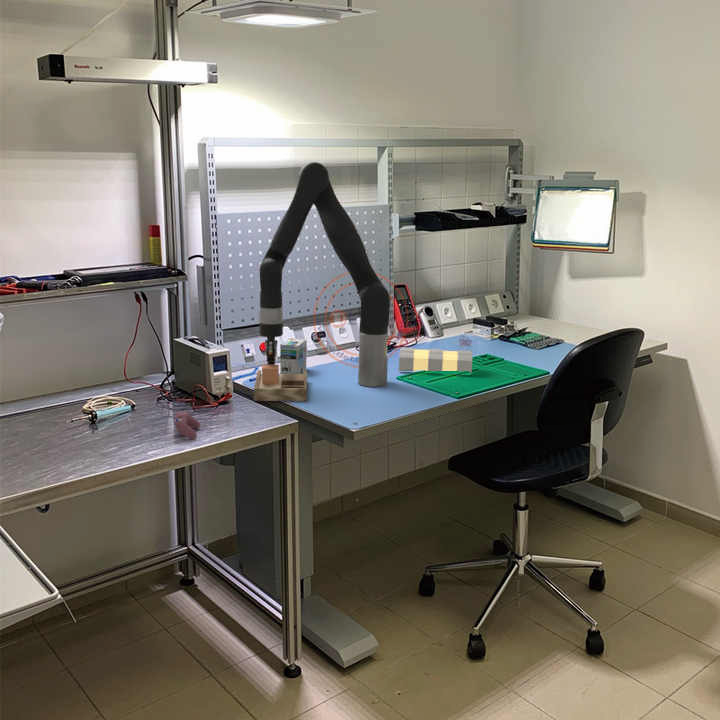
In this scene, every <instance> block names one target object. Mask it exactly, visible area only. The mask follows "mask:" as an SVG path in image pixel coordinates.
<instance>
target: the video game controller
mask: <svg viewBox="0 0 720 720" xmlns="http://www.w3.org/2000/svg"><path fill="white" fill-rule="evenodd" d="M174 419H175V420H173V424H174V426H175V429H176V431H177V432H178V433H180V435H182V436H183V437H185V438H187V439H189V440H195V439H196V438H197V437H198V435H197V432H196V431H195V429H199V428H200V427H201V424H200V422H199V421H198V420H197V419H196V418H195V417H193V416H192V415H190V414H189V413H188V412H186V410H184V411H179V412H177V413H176V414H175V418H174Z"/></svg>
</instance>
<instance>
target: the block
mask: <svg viewBox="0 0 720 720" xmlns="http://www.w3.org/2000/svg"><path fill="white" fill-rule="evenodd" d="M279 365H280V364H275V365H268V364H262V368H261V374H262V384H278V381H279V374H280V367H279Z"/></svg>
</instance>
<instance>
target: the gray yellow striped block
mask: <svg viewBox="0 0 720 720" xmlns="http://www.w3.org/2000/svg"><path fill="white" fill-rule="evenodd" d="M472 341H473V340H472V339H469V338H467V337H466V334H464V335H460V338H459V339H458V342H459V346H457V348H458V349H457V351H453V350H452V351H451V350H444V349H441V348H429V349H416V348H415V347H400V349H399V356H398V372H399V371H417V370H418V371H420V370H422V371H423V370H425V371H468V372H471V373H473V372H472V370H473V349H472V348H473V346H472ZM471 347H472V348H471Z"/></svg>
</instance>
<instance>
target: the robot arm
mask: <svg viewBox="0 0 720 720" xmlns="http://www.w3.org/2000/svg"><path fill="white" fill-rule="evenodd" d="M313 206H314V207H315V208H316V209H315V210H316V211H317V213H318V215H319V218H320V222H321V224H322V226H323V230H324V232H325V235H326V236H327V239H328V241H329V244H330V245H331V247H332V248H333V250H334V252H335V254H336V255H337V258H339V261H340V262H341V263H342V264H343V267H344V268H345V269H346V270H347V272H348V273H349V275H350V277H351V279H352V280H353V284H354V286H355V289H356V290H357V294H358V297H359V301H360V316H359V317H360V320H359V330H358V331H359V333H358V335H359V336H358V337H359V339H358V377H357V378H358V379H357V383H358V385H360V386H364V387H370V388H372V387H373V388H375V387H382V386H387V385H388V365H389V363H388V362H389V361H388V360H389V357H388V339H389V338H388V331H389V325H390V309H391V308H390V307H391V299H390V292H389V291H388V289H387V288H386V287H385V285H384V284H383V283H382V281H381V280H380V278H379V277H378V275H377V273H376V272H375V270H374V269H373V267H372V265H371V262H370V260H369V257H368V254H367V250H366V247H365V245H364V243H363V240H362V238H361V236H360V234H359V232H358V229H357V227H356V226H355V224H354V222H353V220H352V219H351V217H350V216H349V214H348V213H347V211H346V210H345V208H344V207H343V205H342V204H341V203H340V201H339V199H338V197H337V196H336V193H335V190H334V187H333V186H332V184H331V180H330V175H329V172H328V169H327V168H326V166H325V165H323V164H322V163H320V162H316V161H311V162H307V163H306V164H304V165H303V166H302V167H301V168H300V171H299V172H298V182H297V186H296V189H295V192H294V195H293V197H292V200H291V202H290V204H289V206H288V208H287V210H286V212H285V213H284V216H283V217H282V220H281V221H280V223H279V225H278V227H277V229H276V232H275V234H273V235H274V236H273V237H272V240H271V243H270V245H269V247H268V250H267V252H266V253H265V254H264V257H263V259H262V261H261V262H260V265H259V284H260V292H259V293H260V294H259V311H258V314H259V315H258V317H259V318H258V319H259V324H258V325H259V329H258V330H259V335H260V336H261V337H264V338H266V339H265V341H264V348H265V356H266V362H267V365H276V361H277V360H276V357H277V353H278V352H277V351H278V343H279V342H278V340H277V339H276V338H280V337H282V336H283V334H284V312H283V311H284V310H283V293H282V286H283V282H282V281H283V270H284V267H285V264H286V262H287V260H288V258H289V255H291V253H292V252H293V249H294V247H295V245H296V244H297V241H298V239H299V238H300V235H301V232H302V230H303V227H304V226H305V223H306V220H307V218H308V215H309V214H310V212H311V210H312V208H313Z"/></svg>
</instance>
